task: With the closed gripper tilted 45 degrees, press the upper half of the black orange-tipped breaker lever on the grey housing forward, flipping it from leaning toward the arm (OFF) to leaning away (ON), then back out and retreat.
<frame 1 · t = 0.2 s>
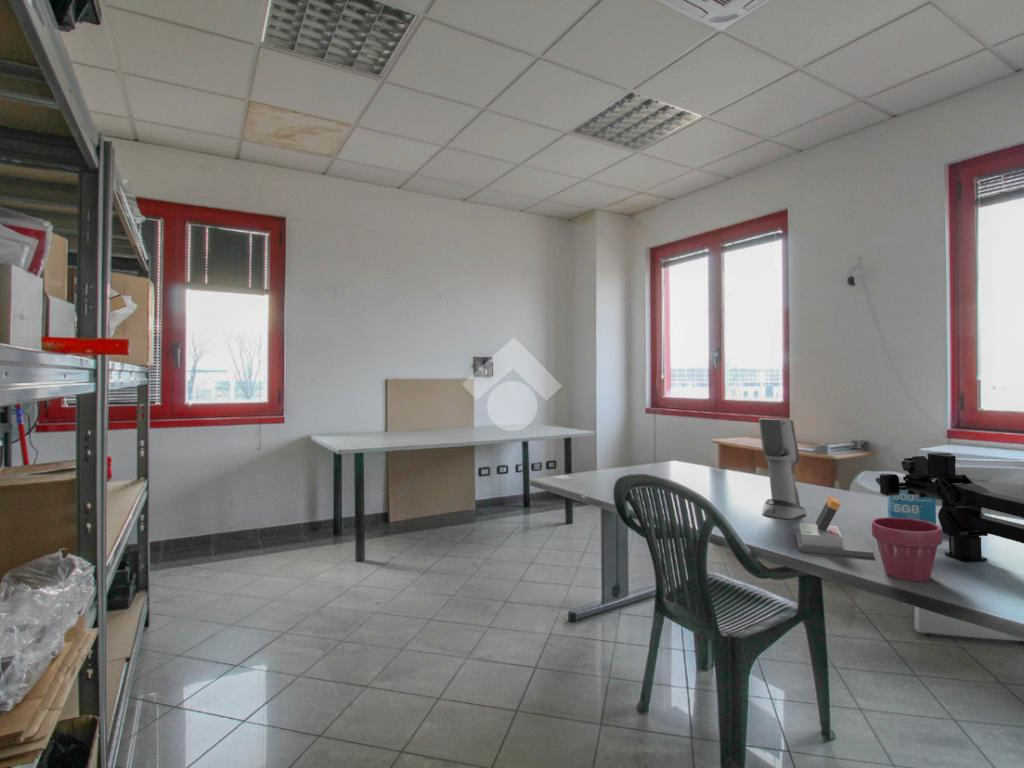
hand: (889, 478, 169), 17 cm above the table, tool horizontal, fingers open, 9 cm apart
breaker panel: (820, 545, 159), on the table
plant pot: (906, 575, 134), on the table
breaker lever: (827, 513, 158), point 10 cm above the table, hinge at -25.0°
handheld scanner: (783, 514, 194), on the table
data package: (911, 526, 175), on the table
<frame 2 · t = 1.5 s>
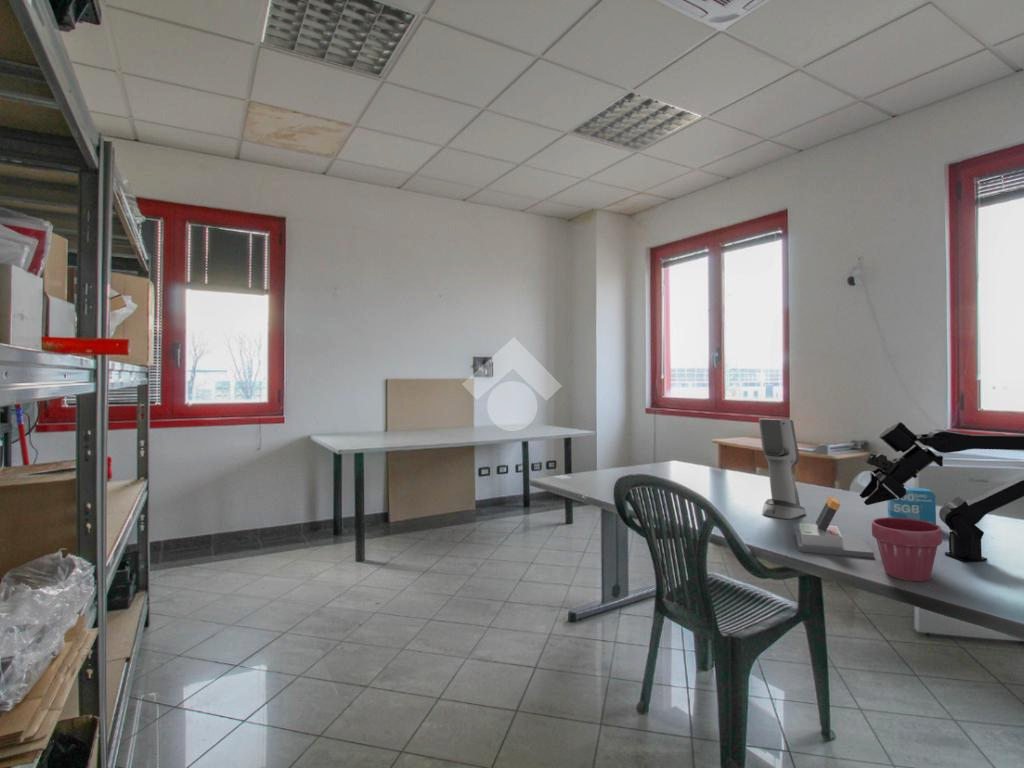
hand: (862, 500, 154), 14 cm above the table, tool tilted 45°, fingers open, 9 cm apart
nothing on the table moved.
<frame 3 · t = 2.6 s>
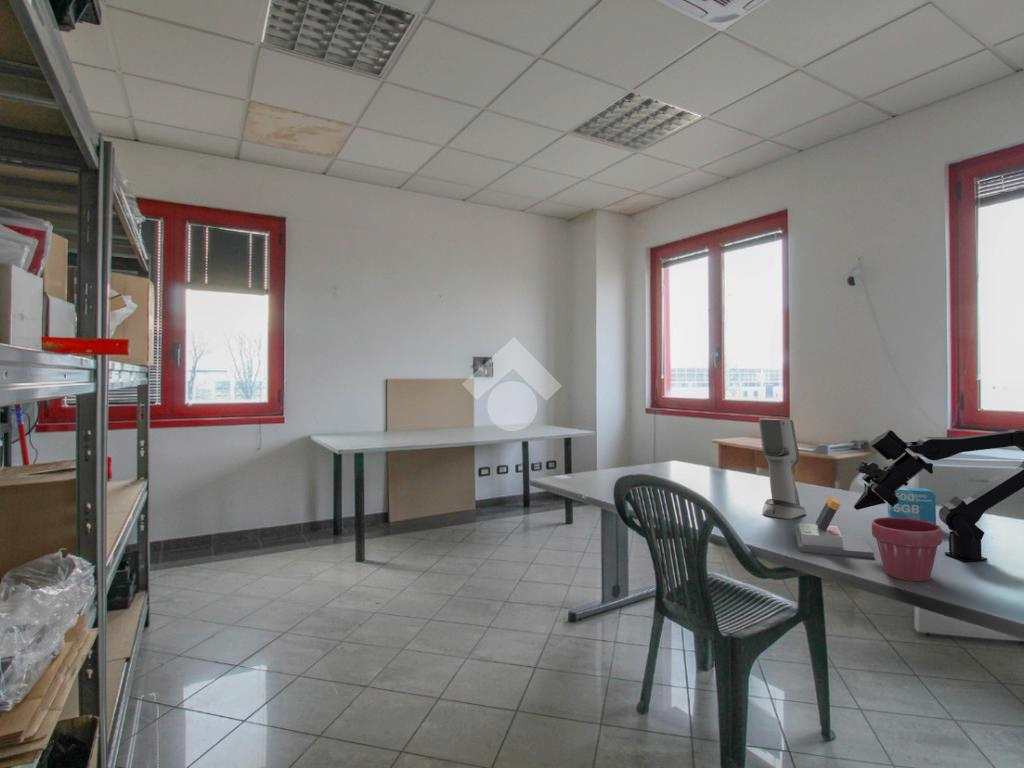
hand: (855, 508, 155), 12 cm above the table, tool tilted 45°, fingers closed
nothing on the table moved.
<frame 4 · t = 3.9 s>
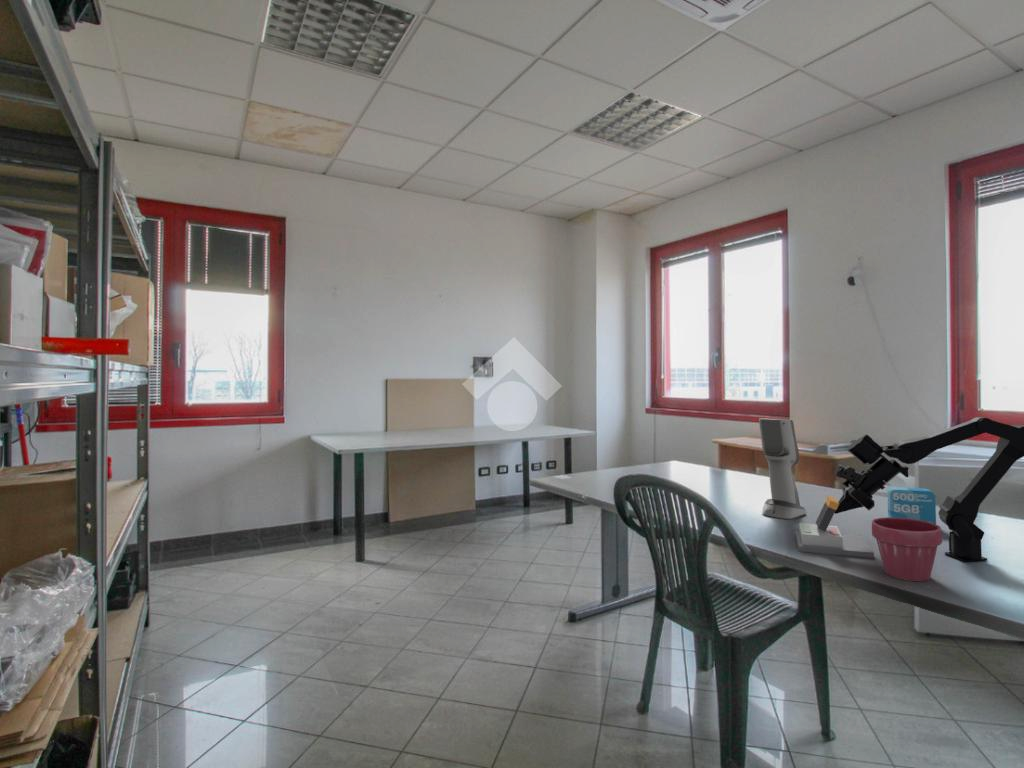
hand: (833, 512, 157), 10 cm above the table, tool tilted 45°, fingers closed, pressing on breaker lever
breaker lever: (826, 513, 158), point 10 cm above the table, hinge at -22.9°, touching gripper
everything else where it was.
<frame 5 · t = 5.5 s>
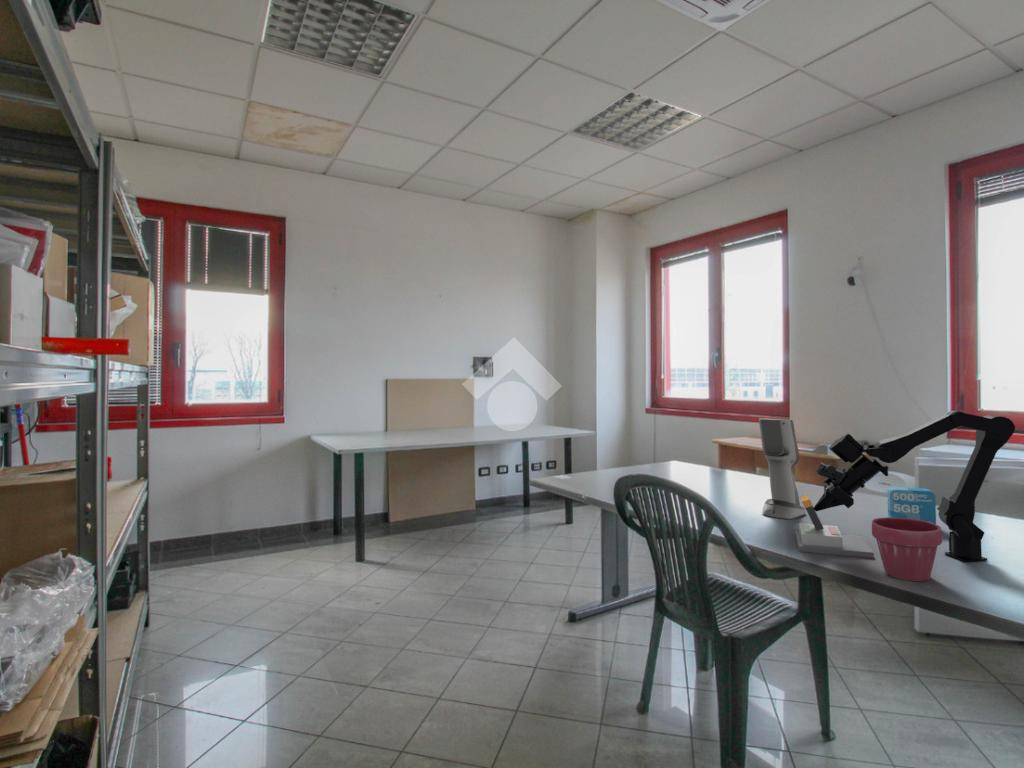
hand: (814, 509, 159), 10 cm above the table, tool tilted 45°, fingers closed, pressing on breaker lever
breaker lever: (811, 512, 159), point 10 cm above the table, hinge at 22.9°, touching gripper
everything else where it was.
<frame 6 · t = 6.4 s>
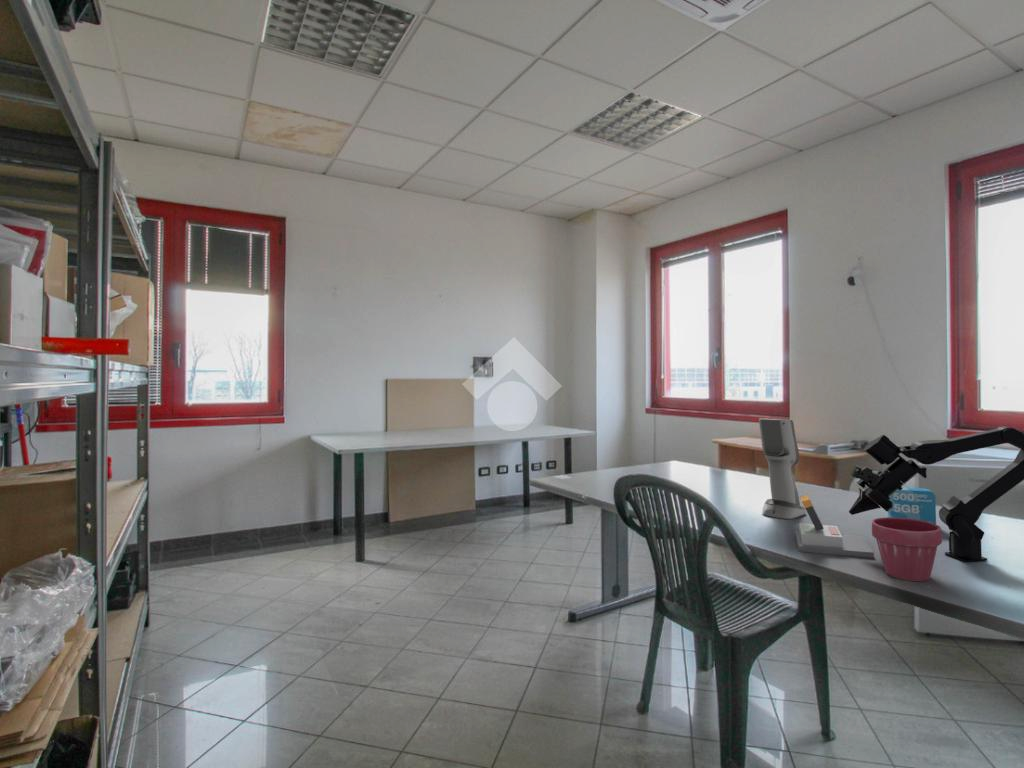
hand: (850, 513, 155), 10 cm above the table, tool tilted 45°, fingers closed
breaker lever: (811, 512, 159), point 10 cm above the table, hinge at 22.9°
everything else where it was.
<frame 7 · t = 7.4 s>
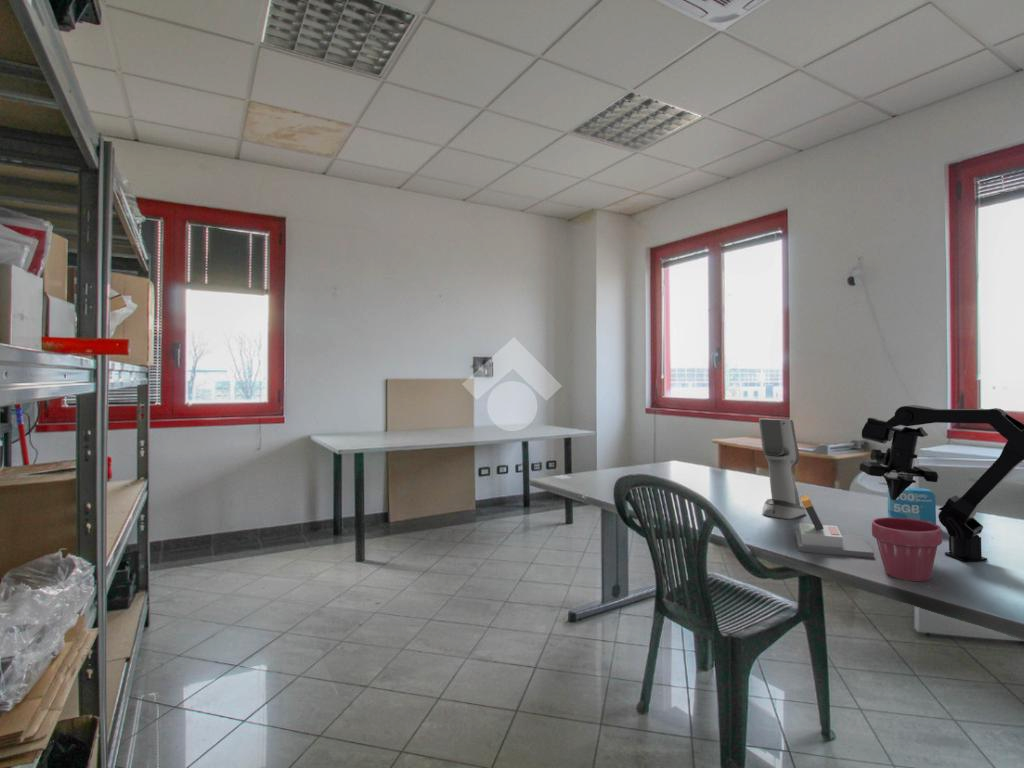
hand: (892, 499, 158), 13 cm above the table, tool pointing down, fingers closed
nothing on the table moved.
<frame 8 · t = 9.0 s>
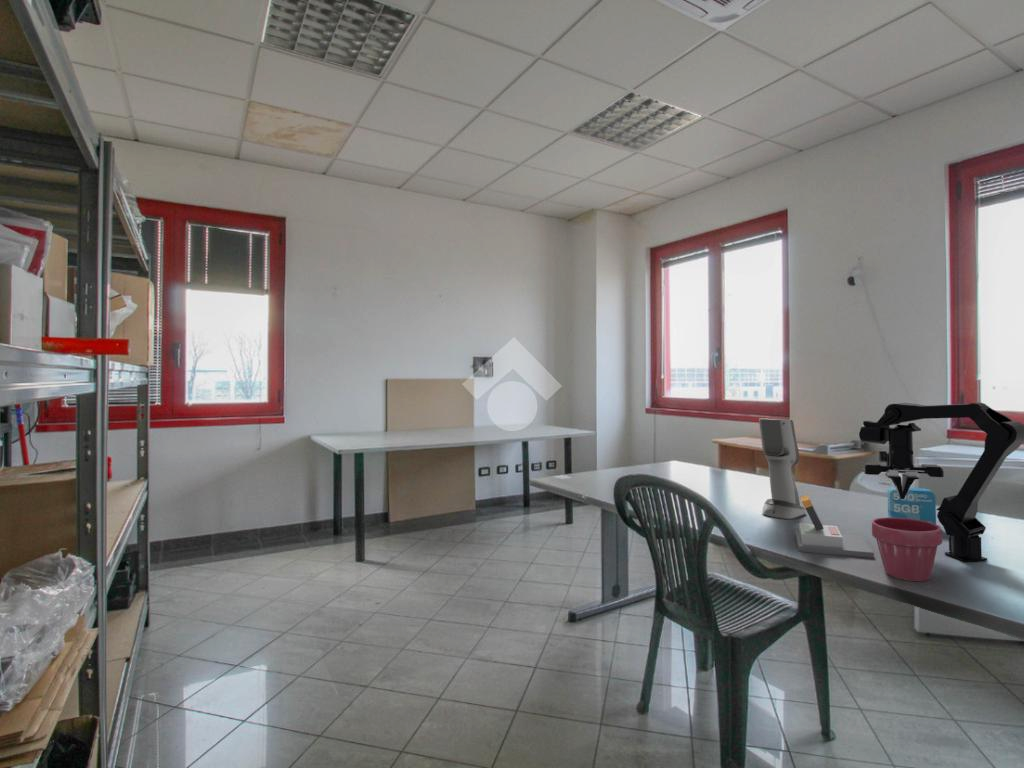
hand: (902, 498, 158), 13 cm above the table, tool pointing down, fingers closed
nothing on the table moved.
at the end: breaker lever at +23° (first picture: -25°) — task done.
